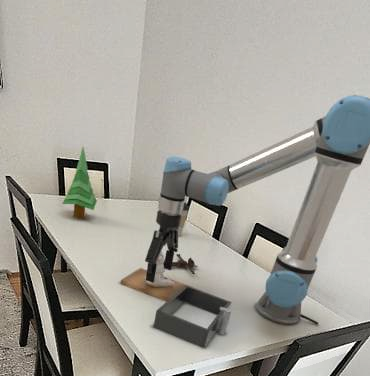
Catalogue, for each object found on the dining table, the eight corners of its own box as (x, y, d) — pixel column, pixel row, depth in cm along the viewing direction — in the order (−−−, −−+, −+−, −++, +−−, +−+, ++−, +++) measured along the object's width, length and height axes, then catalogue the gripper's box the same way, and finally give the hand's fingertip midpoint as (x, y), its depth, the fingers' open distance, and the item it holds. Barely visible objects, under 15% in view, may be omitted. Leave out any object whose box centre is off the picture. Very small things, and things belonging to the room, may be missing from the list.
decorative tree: (100, 222, 174) (107, 151, 158) (66, 221, 166) (69, 146, 150) (90, 212, 183) (95, 144, 167) (57, 211, 175) (59, 139, 159)
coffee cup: (162, 229, 185) (168, 197, 177) (180, 230, 188) (186, 200, 180) (167, 236, 178) (173, 203, 170) (185, 237, 181) (192, 206, 173)
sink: (234, 319, 123) (241, 297, 119) (212, 351, 105) (220, 326, 101) (182, 299, 127) (187, 277, 123) (153, 327, 109) (158, 302, 105)
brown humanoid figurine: (154, 249, 152) (188, 248, 157) (154, 259, 154) (187, 257, 159) (170, 269, 138) (206, 267, 144) (169, 280, 141) (204, 277, 146)
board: (189, 289, 135) (190, 286, 134) (173, 304, 124) (174, 300, 123) (140, 270, 139) (140, 267, 139) (120, 283, 128) (120, 280, 127)
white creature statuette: (174, 287, 131) (181, 254, 125) (156, 292, 125) (163, 258, 119) (154, 275, 136) (160, 243, 129) (137, 280, 130) (142, 246, 123)
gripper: (174, 202, 129) (164, 261, 140) (139, 215, 108) (130, 282, 120) (195, 208, 127) (182, 267, 138) (163, 223, 107) (152, 290, 118)
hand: (158, 274), depth 129 cm, fingers open, 13 cm apart
